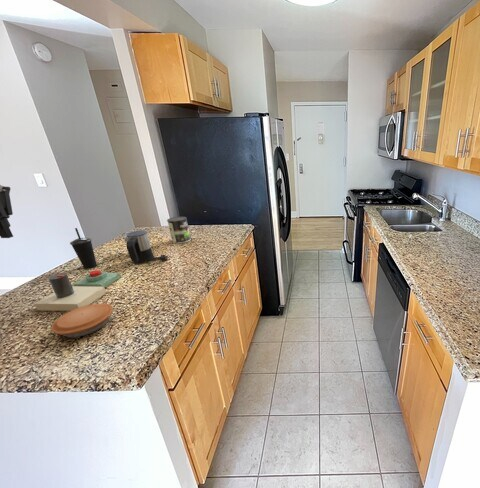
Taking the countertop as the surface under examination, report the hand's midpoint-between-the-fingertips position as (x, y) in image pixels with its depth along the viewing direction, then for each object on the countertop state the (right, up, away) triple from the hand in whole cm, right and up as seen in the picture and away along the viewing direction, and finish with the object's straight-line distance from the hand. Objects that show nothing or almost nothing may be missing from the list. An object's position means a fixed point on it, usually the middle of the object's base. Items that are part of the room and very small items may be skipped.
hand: (7, 237), depth 91 cm
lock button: (+12, -16, +21) cm, 29 cm away
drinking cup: (-4, -14, +37) cm, 40 cm away
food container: (+8, -8, +52) cm, 53 cm away
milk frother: (+21, -11, +44) cm, 50 cm away
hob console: (+14, -25, +10) cm, 30 cm away
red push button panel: (+12, -19, +23) cm, 32 cm away
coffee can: (+23, -1, +70) cm, 73 cm away
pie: (+32, -30, -4) cm, 44 cm away
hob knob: (+12, -22, +8) cm, 26 cm away
